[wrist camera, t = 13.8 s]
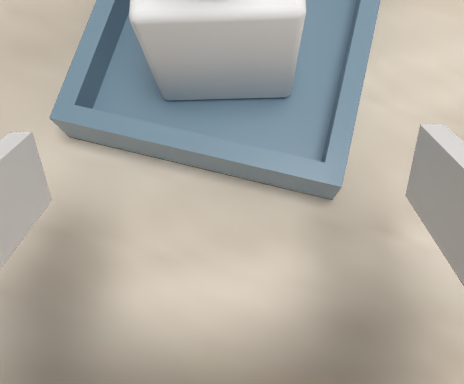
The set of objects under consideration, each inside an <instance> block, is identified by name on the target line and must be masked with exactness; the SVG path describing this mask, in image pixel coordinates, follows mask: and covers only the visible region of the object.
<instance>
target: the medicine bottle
mask: <svg viewBox="0 0 464 384" xmlns="http://www.w3.org/2000/svg"><path fill="white" fill-rule="evenodd" d="M305 15H306V0H130V8H129V19H130V22H131V25H132V27H133V29H134V32H135V34H136V36H137V39H138V41H139V43H140V46H141V48H142V50H143V53H144V55H145V57H146V60H147V62H148V64H149V67H150V69H151V71H152V74H153V76H154V78H155V81H156V83H157V85H158V88H159V90H160V92H161V95H162V97H163V98H164V99H165V100H204V99H241V98H279V97H288V96H289V95H290V94H291V90H292V85H293V79H294V74H295V69H296V63H297V58H298V53H299V47H300V42H301V36H302V31H303V26H304V20H305Z"/></svg>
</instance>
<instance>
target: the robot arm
mask: <svg viewBox="0 0 464 384" xmlns="http://www.w3.org/2000/svg"><path fill="white" fill-rule="evenodd" d="M405 196H406V197H407V199H408V200H409V202H410V203H411V205H412V207H413V208H414V210H415V211H416V213H417V214H418V216H419V217H420V219H421V221H422V222H423V224H424V225H425V227H426V228H427V230H428V231H429V233H430V235H431V236H432V238H433V239H434V241H435V242H436V244H437V245H438V247H439V248H440V250H441V252H442V253H443V255H444V256H445V258H446V259H447V261H448V262H449V264H450V266H451V267H452V269H453V270H454V272H455V273H456V275H457V276H458V278H459V280H460V281H461V283H462V284H463V286H464V142H463V141H462V140H461V139H460V138H459V137H458V136H457V135H455V134H454V133H453V132H452V131H451V130H450V129H449V128H448V127H446V126H445V125H444V124H420V128H419V133H418V138H417V143H416V148H415V152H414V157H413V162H412V167H411V171H410V176H409V181H408V186H407V191H406V195H405ZM51 201H52V199H51V195H50V192H49V188H48V185H47V181H46V178H45V174H44V171H43V167H42V164H41V161H40V157H39V154H38V150H37V147H36V143H35V140H34V136H33V133H32V132H10V133H9V134H7V135H6V136H5V137H4V138H2V139H1V140H0V269H1V268H2V266H3V265H4V264H5V262H6V261H7V260H8V258H9V257H10V256H11V254H12V253H13V252H14V250H15V249H16V248H17V246H18V245H19V244H20V242H21V241H22V240H23V238H24V237H25V236H26V234H27V233H28V232H29V230H30V229H31V228H32V226H33V225H34V223H35V222H36V221H37V219H38V218H39V217H40V215H41V214H42V213H43V211H44V210H45V209H46V207H47V206H48V205H49V203H50V202H51Z"/></svg>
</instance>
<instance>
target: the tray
mask: <svg viewBox="0 0 464 384" xmlns="http://www.w3.org/2000/svg"><path fill="white" fill-rule="evenodd" d="M379 4H380V0H306V15H305V20H304V26H303V31H302V36H301V42H300V47H299V53H298V58H297V63H296V69H295V74H294V79H293V85H292V90H291V94H290V95H289V96H288V97H279V98H241V99H204V100H165V99H164V98H163V97H162V95H161V92H160V90H159V88H158V85H157V83H156V81H155V78H154V76H153V74H152V71H151V69H150V67H149V64H148V62H147V60H146V57H145V55H144V53H143V50H142V48H141V46H140V43H139V41H138V39H137V36H136V34H135V32H134V29H133V27H132V25H131V22H130V19H129V8H130V0H97V1H96V3H95V5H94V8H93V10H92V13H91V15H90V18H89V20H88V23H87V25H86V28H85V30H84V33H83V35H82V38H81V40H80V43H79V45H78V48H77V50H76V53H75V55H74V58H73V60H72V63H71V65H70V68H69V70H68V73H67V75H66V78H65V80H64V83H63V85H62V88H61V90H60V93H59V95H58V98H57V100H56V103H55V105H54V108H53V110H52V113H51V115H50V119H51V120H52V121H53V122H54V123H55V124H56V125H57V126H58V127H60V128H61V129H62V130H63V131H64V132H65V133H66V134H67V135H68V136H69V137H72V138H76V139H81V140H85V141H89V142H93V143H97V144H101V145H106V146H110V147H114V148H118V149H122V150H126V151H131V152H135V153H139V154H143V155H147V156H151V157H156V158H160V159H164V160H168V161H172V162H177V163H181V164H185V165H189V166H193V167H197V168H202V169H206V170H210V171H214V172H218V173H222V174H227V175H231V176H235V177H239V178H243V179H247V180H252V181H256V182H260V183H264V184H268V185H272V186H277V187H281V188H285V189H289V190H293V191H298V192H302V193H306V194H310V195H314V196H318V197H323V198H327V199H331V200H332V199H333V198H334V196H335V195H336V194H337V193H338V191H339V190H340V189H341V187H342V183H343V179H344V174H345V169H346V164H347V159H348V154H349V150H350V145H351V140H352V135H353V130H354V125H355V120H356V116H357V111H358V106H359V101H360V96H361V91H362V87H363V82H364V77H365V72H366V67H367V62H368V58H369V53H370V48H371V43H372V38H373V33H374V29H375V24H376V19H377V14H378V9H379Z"/></svg>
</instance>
